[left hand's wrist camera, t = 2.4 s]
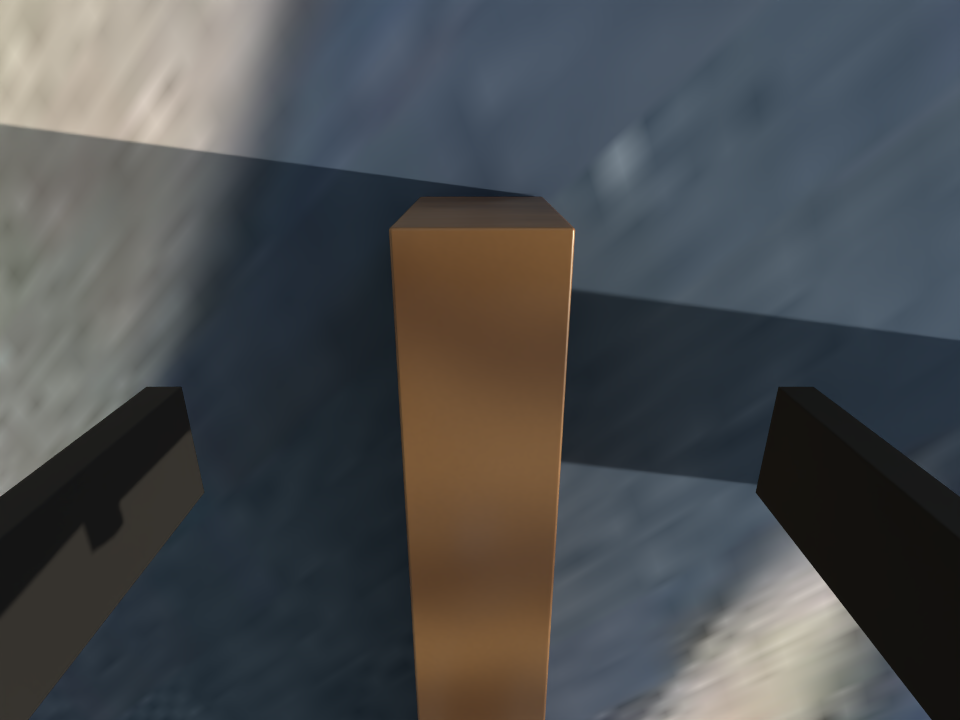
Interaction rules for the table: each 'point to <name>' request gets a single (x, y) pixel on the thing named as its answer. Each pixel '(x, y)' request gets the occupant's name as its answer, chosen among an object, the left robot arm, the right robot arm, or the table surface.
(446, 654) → the post
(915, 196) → the table surface
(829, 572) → the left robot arm
